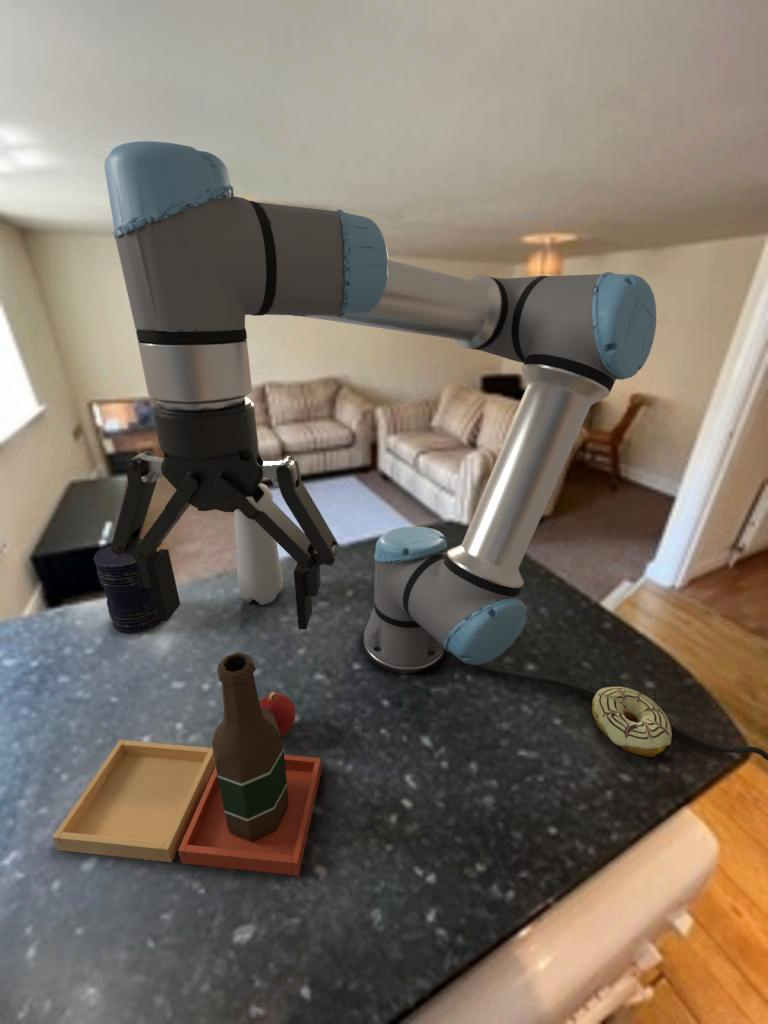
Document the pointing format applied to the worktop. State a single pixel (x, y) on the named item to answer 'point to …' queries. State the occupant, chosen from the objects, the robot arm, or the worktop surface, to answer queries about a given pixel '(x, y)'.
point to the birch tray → (138, 802)
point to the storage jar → (126, 593)
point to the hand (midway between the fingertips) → (237, 616)
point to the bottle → (256, 560)
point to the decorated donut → (637, 736)
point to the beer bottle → (248, 755)
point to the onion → (280, 711)
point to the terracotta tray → (267, 854)
